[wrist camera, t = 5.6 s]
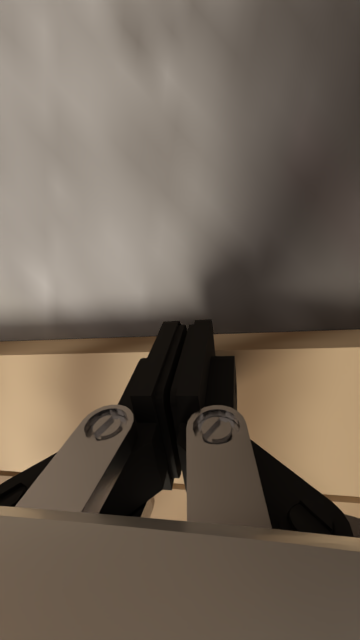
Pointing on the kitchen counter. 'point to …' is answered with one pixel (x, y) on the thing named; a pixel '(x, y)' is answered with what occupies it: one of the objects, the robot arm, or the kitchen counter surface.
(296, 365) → the plank
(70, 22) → the kitchen counter surface
